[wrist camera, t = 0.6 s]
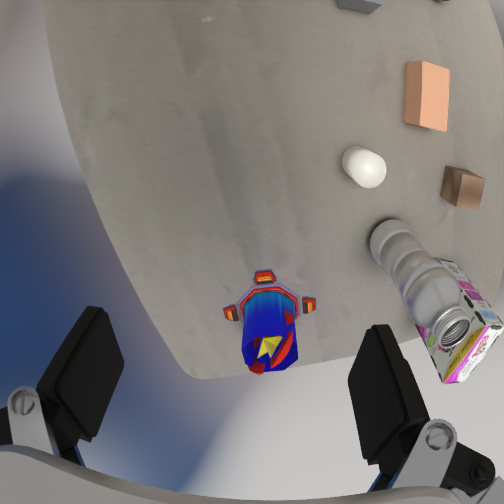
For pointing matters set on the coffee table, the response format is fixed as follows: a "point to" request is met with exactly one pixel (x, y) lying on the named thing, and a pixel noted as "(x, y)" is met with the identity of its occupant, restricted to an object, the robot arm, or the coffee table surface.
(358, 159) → the cream cylinder
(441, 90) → the terracotta long brick
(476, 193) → the walnut square block
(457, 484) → the robot arm
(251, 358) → the fantasy tower
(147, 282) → the coffee table surface
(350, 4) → the grey short brick
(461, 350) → the candy bar box
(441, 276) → the plastic bottle
